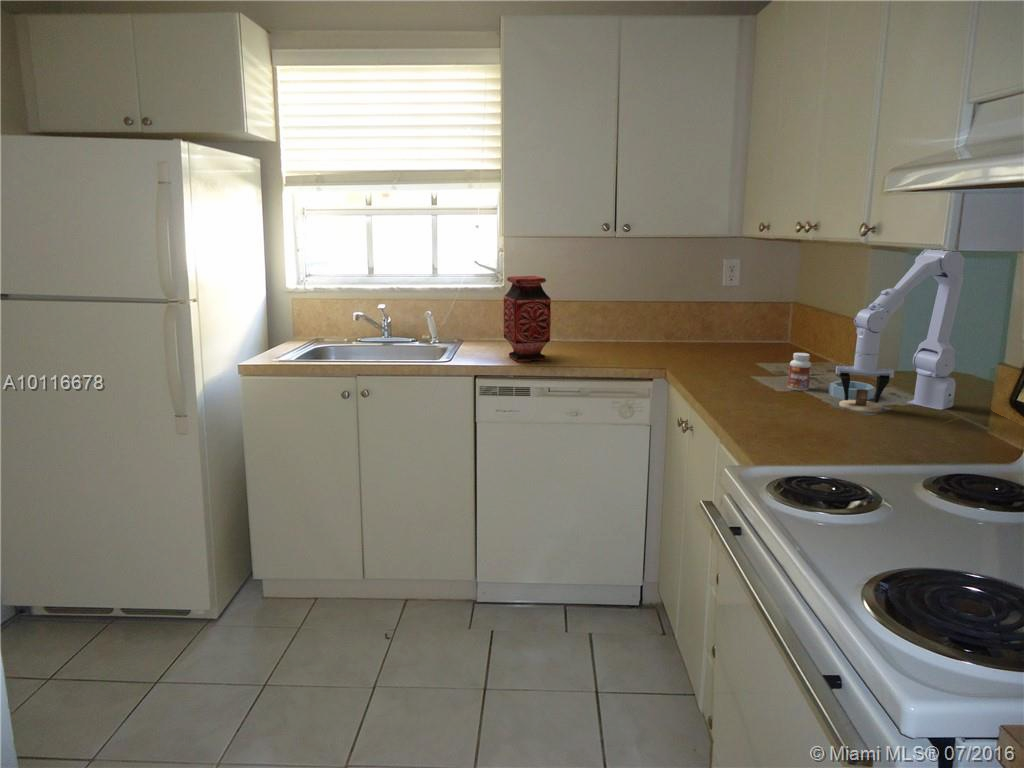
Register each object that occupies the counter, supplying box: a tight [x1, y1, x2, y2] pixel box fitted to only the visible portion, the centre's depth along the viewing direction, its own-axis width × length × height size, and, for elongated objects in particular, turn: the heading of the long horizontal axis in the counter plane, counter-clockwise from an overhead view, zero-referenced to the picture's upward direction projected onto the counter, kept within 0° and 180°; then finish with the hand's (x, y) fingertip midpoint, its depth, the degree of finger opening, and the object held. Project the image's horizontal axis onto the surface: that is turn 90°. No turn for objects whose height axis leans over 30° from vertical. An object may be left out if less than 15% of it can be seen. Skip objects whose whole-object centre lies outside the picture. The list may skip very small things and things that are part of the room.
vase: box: [503, 275, 552, 363], centre depth 272 cm, size 14×14×30 cm
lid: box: [839, 389, 883, 413], centre depth 207 cm, size 11×11×5 cm
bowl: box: [828, 380, 876, 401], centre depth 221 cm, size 11×11×4 cm
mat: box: [828, 403, 893, 417], centre depth 208 cm, size 12×12×1 cm
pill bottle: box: [787, 352, 812, 392], centre depth 229 cm, size 6×6×11 cm
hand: (861, 400), depth 207 cm, fingers open, 7 cm apart
